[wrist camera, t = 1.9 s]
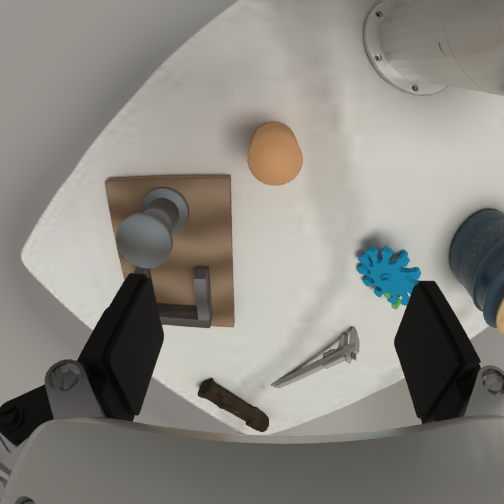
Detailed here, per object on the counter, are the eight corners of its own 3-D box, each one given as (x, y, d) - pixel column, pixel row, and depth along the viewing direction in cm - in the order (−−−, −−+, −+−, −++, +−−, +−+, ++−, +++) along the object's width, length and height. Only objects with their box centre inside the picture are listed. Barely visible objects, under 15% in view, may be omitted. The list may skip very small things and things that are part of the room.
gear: (349, 245, 39) (420, 265, 32) (370, 218, 42) (436, 233, 35) (361, 300, 46) (419, 322, 39) (379, 273, 48) (435, 291, 41)
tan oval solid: (252, 121, 34) (247, 132, 27) (296, 122, 34) (304, 134, 27) (251, 163, 36) (247, 184, 30) (294, 164, 36) (301, 186, 29)
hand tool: (198, 381, 59) (194, 400, 55) (212, 375, 57) (209, 394, 53) (258, 420, 66) (258, 437, 62) (273, 415, 64) (272, 432, 60)
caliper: (351, 324, 49) (358, 352, 43) (355, 327, 49) (363, 355, 44) (270, 383, 58) (270, 410, 52) (275, 385, 58) (274, 412, 53)
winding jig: (109, 177, 38) (70, 208, 29) (230, 174, 37) (218, 207, 29) (138, 313, 50) (117, 358, 41) (234, 320, 49) (227, 370, 40)
